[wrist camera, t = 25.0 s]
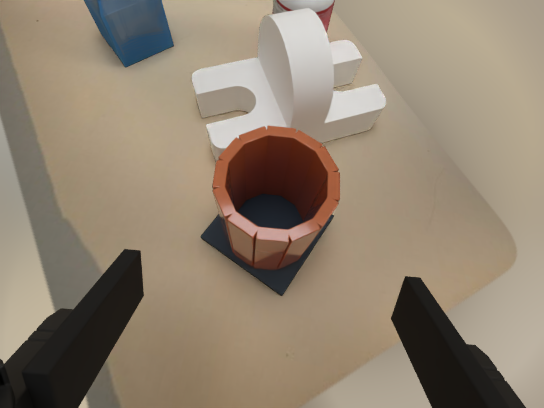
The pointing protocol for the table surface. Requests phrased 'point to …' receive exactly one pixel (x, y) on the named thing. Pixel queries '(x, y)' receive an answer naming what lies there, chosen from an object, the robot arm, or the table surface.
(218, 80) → the white slotted bracket
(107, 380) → the table surface
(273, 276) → the mat
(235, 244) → the orange hollow cylinder
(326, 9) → the pill bottle
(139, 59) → the perfume bottle
